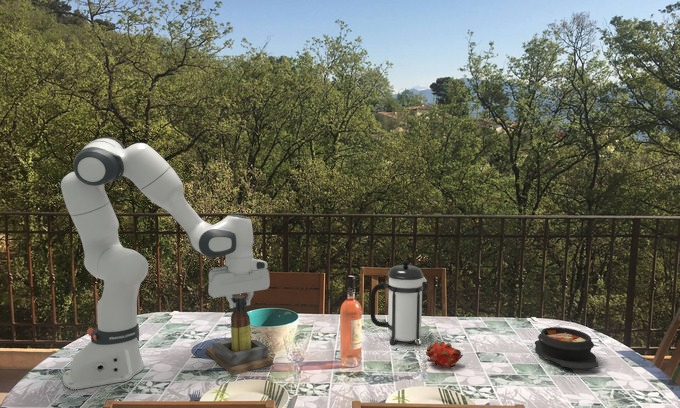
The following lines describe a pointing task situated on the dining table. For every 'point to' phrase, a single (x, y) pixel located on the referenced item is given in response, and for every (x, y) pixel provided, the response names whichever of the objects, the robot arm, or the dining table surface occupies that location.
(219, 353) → the board
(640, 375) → the dining table surface
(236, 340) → the sauce bottle
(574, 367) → the casserole
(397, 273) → the coffee press
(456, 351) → the dragon fruit
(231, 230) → the robot arm
